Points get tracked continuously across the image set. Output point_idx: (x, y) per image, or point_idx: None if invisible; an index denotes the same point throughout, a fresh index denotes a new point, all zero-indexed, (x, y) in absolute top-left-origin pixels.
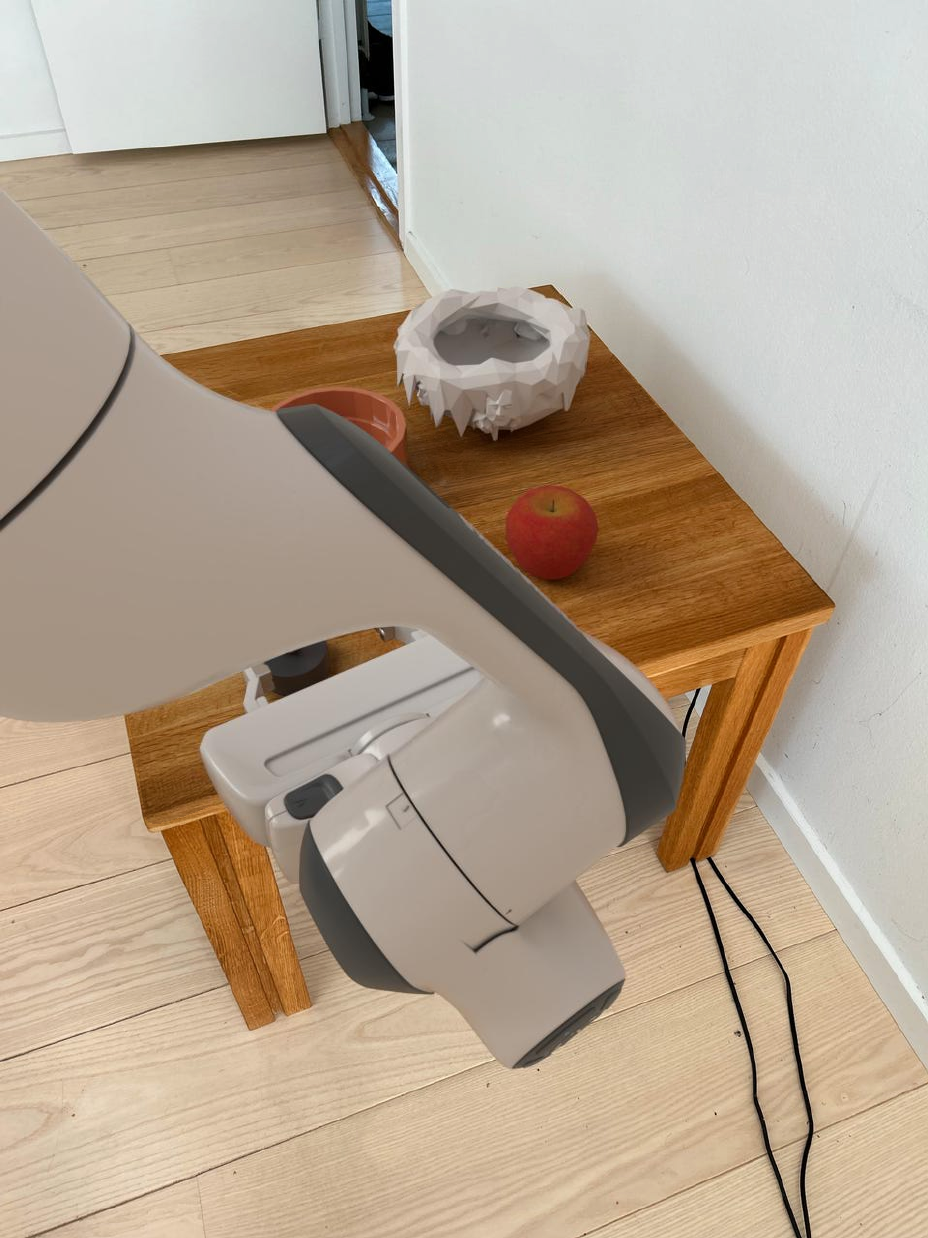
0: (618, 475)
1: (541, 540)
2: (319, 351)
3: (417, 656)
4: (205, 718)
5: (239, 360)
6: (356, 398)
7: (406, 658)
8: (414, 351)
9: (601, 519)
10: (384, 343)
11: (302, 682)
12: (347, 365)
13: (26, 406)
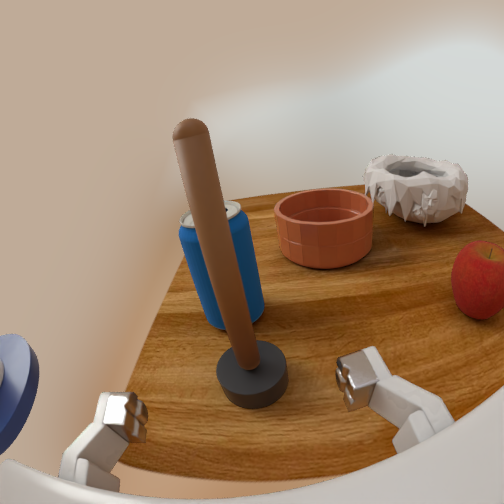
0: None
1: (488, 281)
2: None
3: (421, 492)
4: (167, 402)
5: (284, 195)
6: (341, 195)
7: (394, 498)
8: (376, 170)
9: None
10: (356, 190)
11: (252, 400)
12: None
13: None
